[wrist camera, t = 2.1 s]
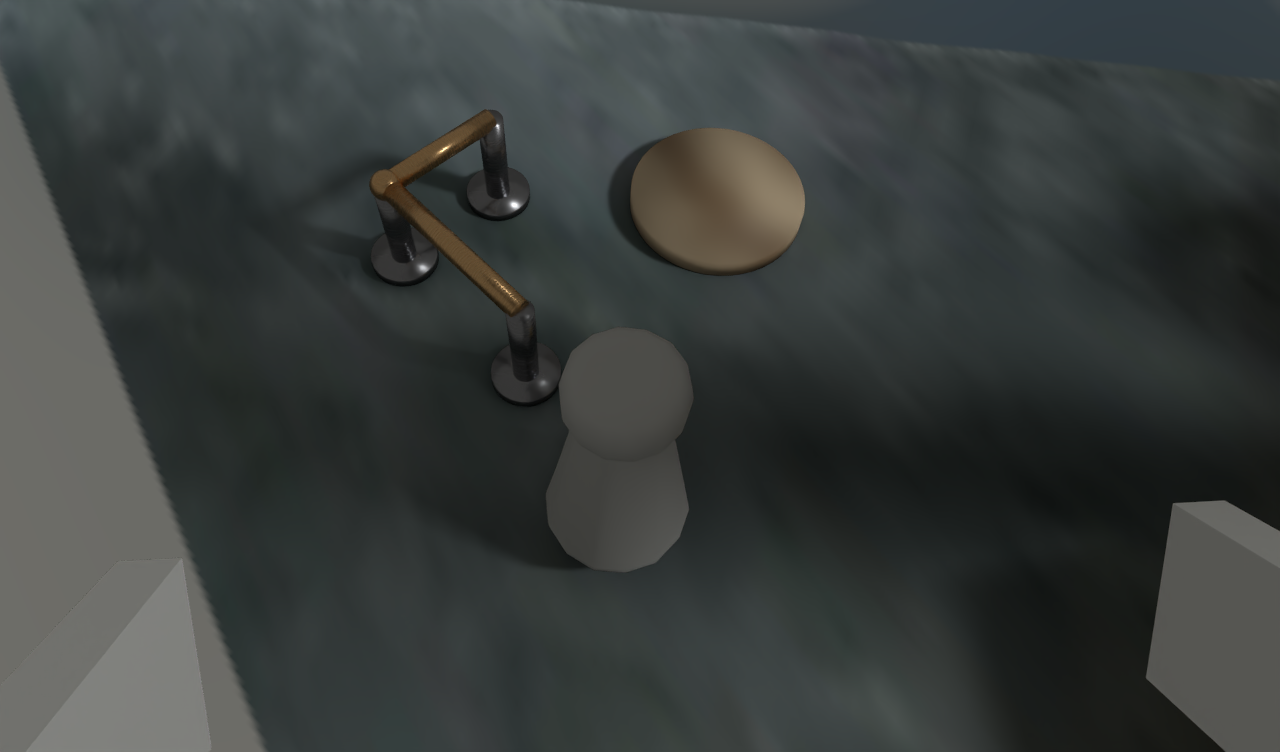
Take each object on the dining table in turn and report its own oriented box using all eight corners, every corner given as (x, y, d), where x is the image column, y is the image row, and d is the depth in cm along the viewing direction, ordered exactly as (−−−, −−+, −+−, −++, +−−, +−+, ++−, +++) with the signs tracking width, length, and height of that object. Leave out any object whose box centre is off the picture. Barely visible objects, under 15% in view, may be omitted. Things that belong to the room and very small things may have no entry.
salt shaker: (706, 503, 41) (755, 350, 29) (639, 615, 38) (664, 494, 27) (592, 438, 42) (598, 268, 31) (520, 542, 39) (496, 398, 28)
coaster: (711, 116, 52) (714, 102, 51) (835, 210, 49) (840, 197, 48) (594, 200, 49) (594, 187, 48) (720, 306, 46) (722, 295, 45)
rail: (502, 163, 50) (492, 73, 44) (665, 304, 46) (677, 224, 40) (359, 257, 46) (330, 172, 41) (523, 419, 42) (515, 348, 37)
